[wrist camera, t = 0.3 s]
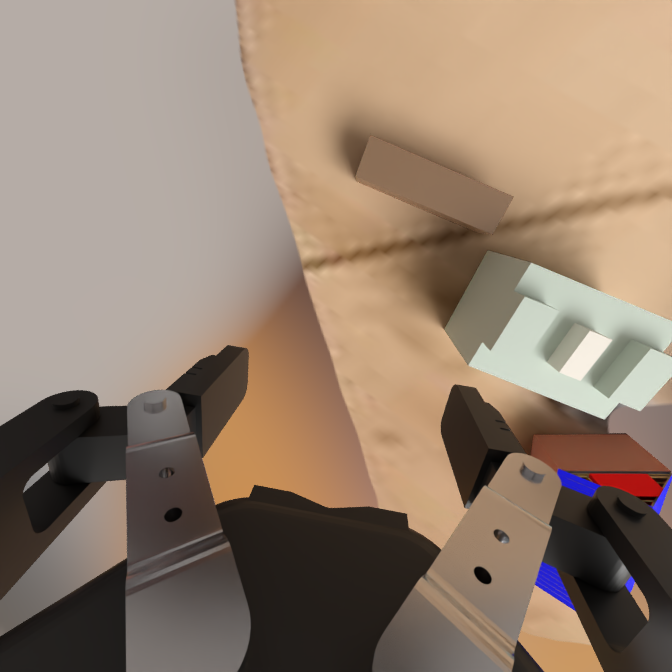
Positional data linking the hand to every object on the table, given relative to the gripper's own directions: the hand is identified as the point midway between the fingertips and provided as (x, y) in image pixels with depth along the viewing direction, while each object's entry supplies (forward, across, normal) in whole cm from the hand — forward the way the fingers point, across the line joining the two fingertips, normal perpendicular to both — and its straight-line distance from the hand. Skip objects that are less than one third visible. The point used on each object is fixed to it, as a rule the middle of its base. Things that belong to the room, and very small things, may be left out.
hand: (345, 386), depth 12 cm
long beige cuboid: (+27, -5, -9) cm, 29 cm away
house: (+27, -34, +26) cm, 50 cm away
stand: (+26, -19, +2) cm, 33 cm away
